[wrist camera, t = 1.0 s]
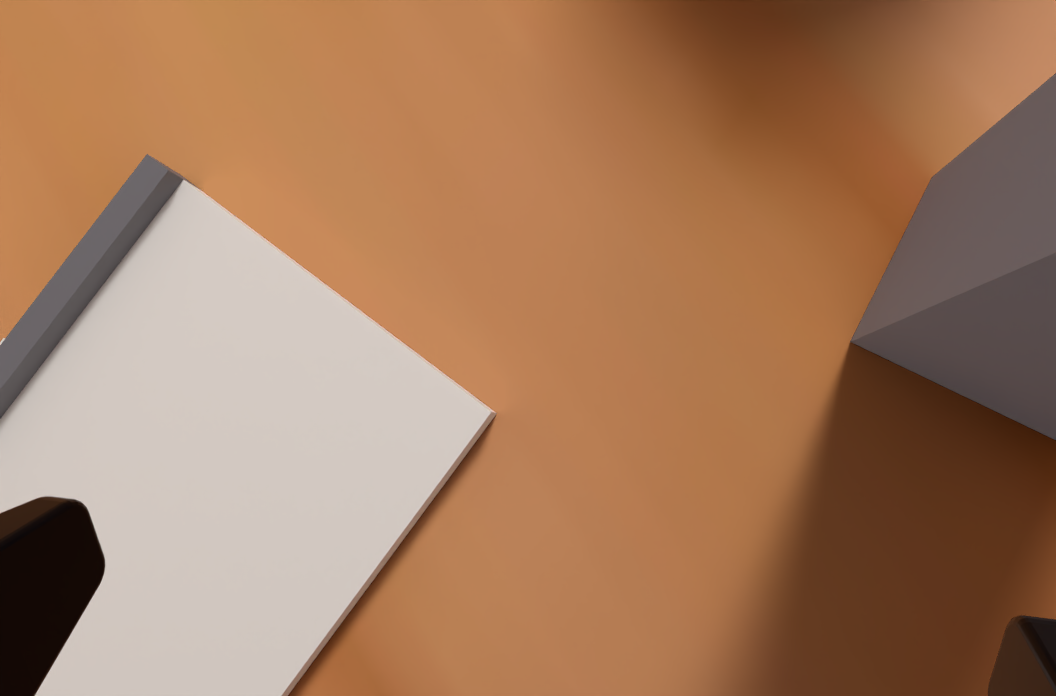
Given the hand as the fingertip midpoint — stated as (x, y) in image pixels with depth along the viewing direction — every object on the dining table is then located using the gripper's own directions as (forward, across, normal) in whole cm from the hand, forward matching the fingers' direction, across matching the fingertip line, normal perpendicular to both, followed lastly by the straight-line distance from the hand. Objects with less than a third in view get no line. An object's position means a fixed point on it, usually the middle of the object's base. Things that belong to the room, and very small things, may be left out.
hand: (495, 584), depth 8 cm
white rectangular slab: (+10, +12, +9) cm, 18 cm away
